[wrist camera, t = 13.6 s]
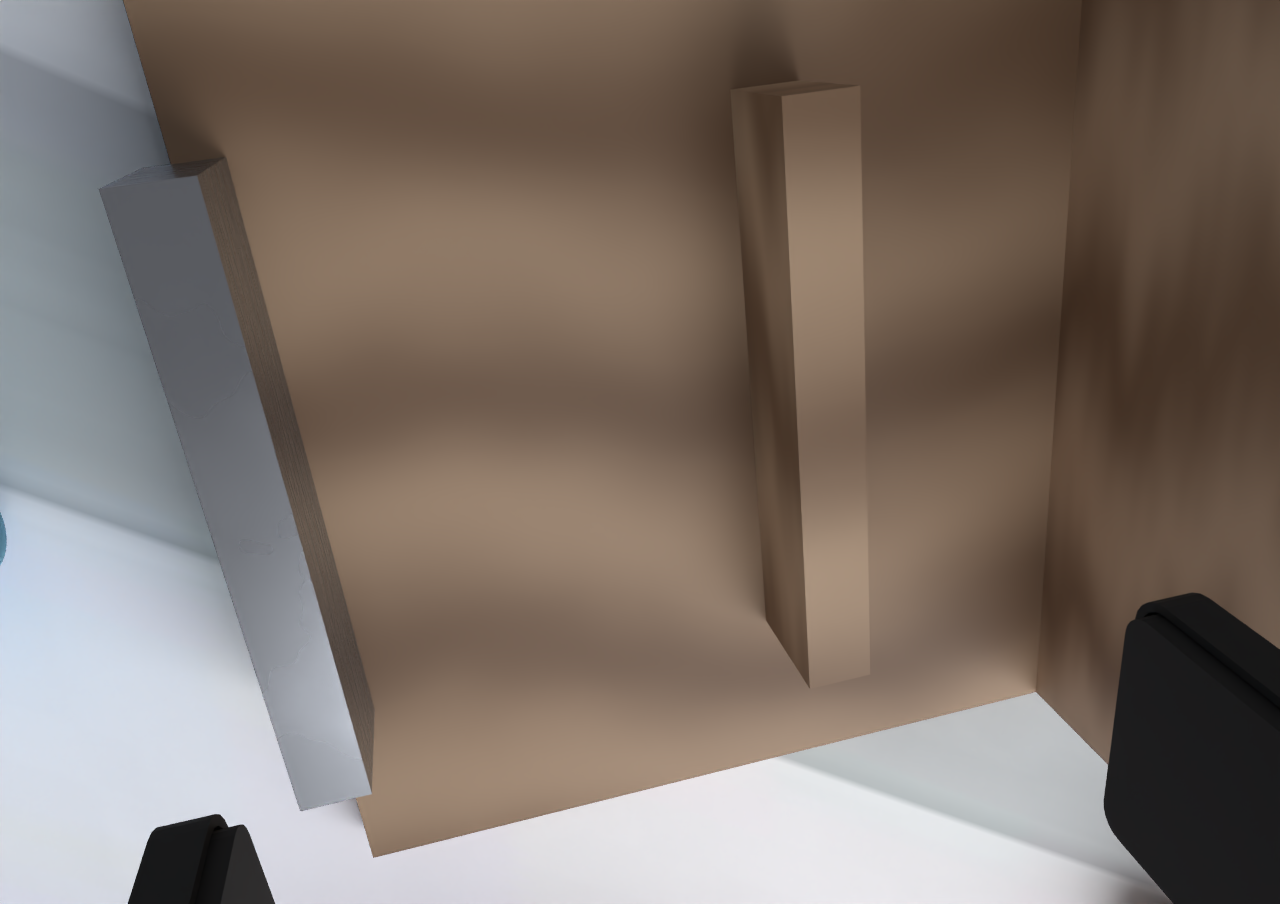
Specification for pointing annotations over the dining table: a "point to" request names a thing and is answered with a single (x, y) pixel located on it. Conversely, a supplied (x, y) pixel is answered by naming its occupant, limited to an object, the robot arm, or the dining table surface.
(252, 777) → the dining table surface
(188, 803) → the dining table surface
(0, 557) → the data package
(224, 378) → the grey rectangular bar
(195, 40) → the shelf
